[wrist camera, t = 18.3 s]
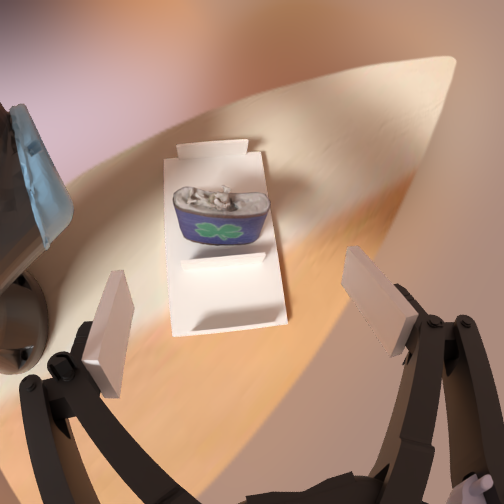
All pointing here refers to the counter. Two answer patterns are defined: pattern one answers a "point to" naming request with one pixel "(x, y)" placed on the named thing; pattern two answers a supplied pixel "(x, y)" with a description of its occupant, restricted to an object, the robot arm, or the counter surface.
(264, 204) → the flask
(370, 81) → the counter surface
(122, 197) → the counter surface
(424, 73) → the counter surface
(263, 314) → the rack
